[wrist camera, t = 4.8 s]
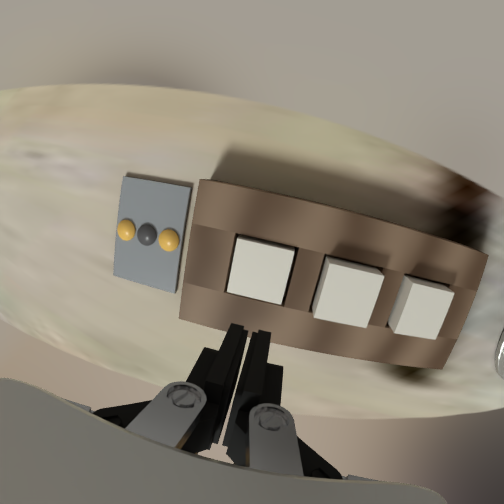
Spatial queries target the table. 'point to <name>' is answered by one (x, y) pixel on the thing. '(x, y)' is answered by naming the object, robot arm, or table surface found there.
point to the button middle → (347, 292)
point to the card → (150, 232)
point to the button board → (310, 269)
